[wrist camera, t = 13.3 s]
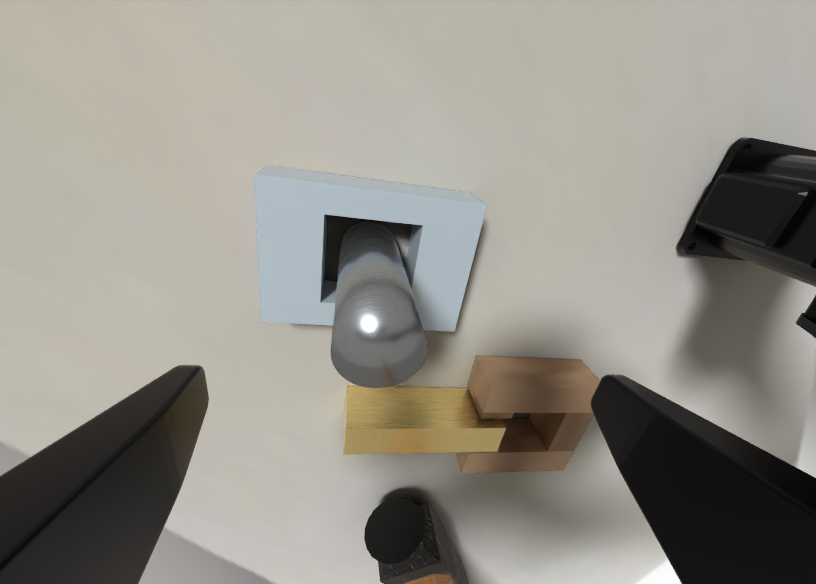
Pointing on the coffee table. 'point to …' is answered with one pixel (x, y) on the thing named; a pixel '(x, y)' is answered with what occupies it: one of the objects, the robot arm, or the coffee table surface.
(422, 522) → the hammer
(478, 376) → the socket block
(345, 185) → the light blue rectangular frame
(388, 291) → the peg
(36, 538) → the robot arm
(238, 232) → the coffee table surface
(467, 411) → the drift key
